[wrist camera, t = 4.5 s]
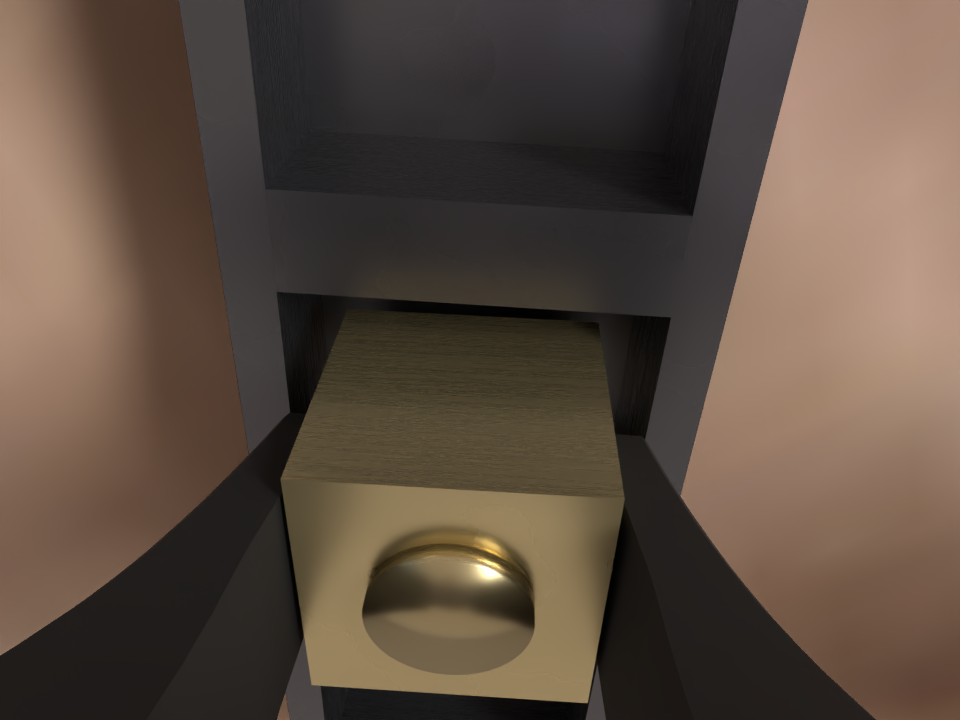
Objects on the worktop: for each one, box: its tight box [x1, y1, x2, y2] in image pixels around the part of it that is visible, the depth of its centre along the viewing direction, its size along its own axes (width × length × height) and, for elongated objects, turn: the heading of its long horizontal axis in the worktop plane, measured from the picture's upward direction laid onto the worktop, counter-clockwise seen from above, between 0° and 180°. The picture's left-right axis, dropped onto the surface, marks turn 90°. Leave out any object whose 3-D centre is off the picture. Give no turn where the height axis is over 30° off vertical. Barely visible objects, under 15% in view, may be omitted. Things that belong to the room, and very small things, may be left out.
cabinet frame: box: [179, 0, 808, 720], centre depth 14 cm, size 7×22×3 cm, turn 177°
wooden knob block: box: [281, 309, 625, 703], centre depth 12 cm, size 4×4×4 cm
